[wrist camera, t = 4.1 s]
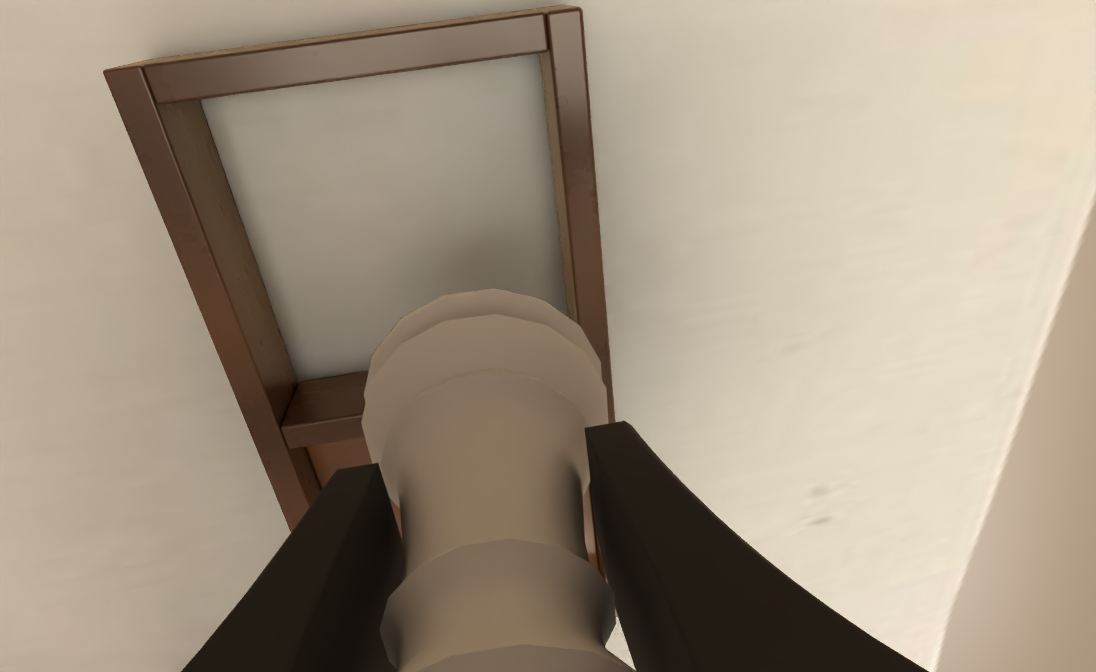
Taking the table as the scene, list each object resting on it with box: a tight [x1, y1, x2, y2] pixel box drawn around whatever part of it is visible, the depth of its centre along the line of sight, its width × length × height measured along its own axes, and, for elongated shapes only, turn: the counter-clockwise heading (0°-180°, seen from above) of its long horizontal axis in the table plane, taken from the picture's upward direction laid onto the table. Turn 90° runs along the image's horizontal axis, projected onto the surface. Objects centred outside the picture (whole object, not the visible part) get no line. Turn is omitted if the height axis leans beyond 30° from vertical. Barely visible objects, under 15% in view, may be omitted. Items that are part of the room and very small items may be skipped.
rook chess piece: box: [361, 288, 637, 672], centre depth 9 cm, size 4×4×8 cm
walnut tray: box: [103, 5, 618, 617], centre depth 19 cm, size 19×10×2 cm, turn 7°
